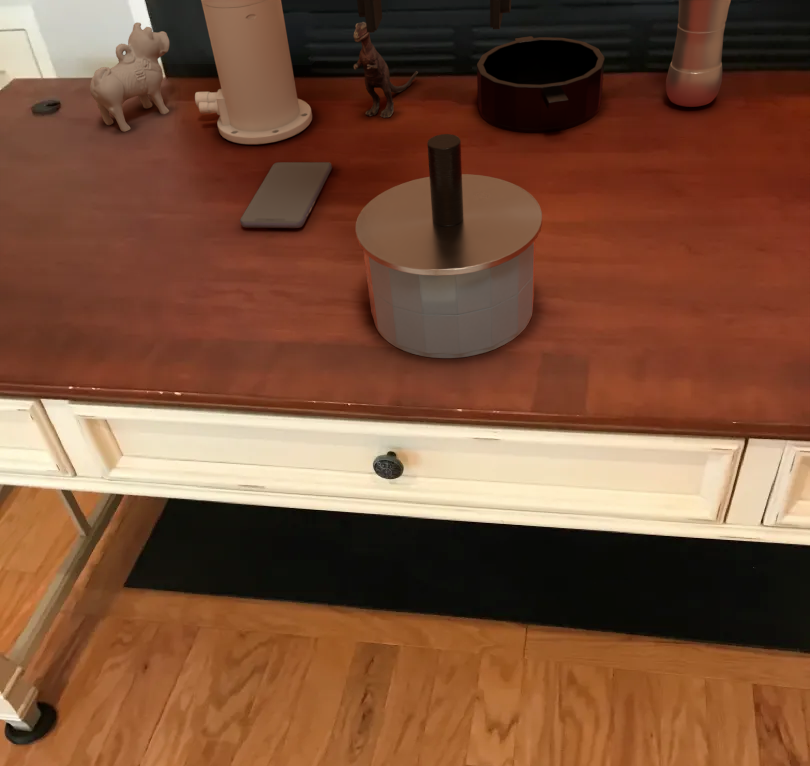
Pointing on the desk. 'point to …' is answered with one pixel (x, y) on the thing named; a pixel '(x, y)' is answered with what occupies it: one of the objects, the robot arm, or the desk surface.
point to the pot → (452, 307)
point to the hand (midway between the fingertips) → (435, 24)
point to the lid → (448, 219)
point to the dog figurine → (132, 75)
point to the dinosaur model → (376, 72)
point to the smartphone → (286, 195)
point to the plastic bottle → (697, 53)
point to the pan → (540, 84)
